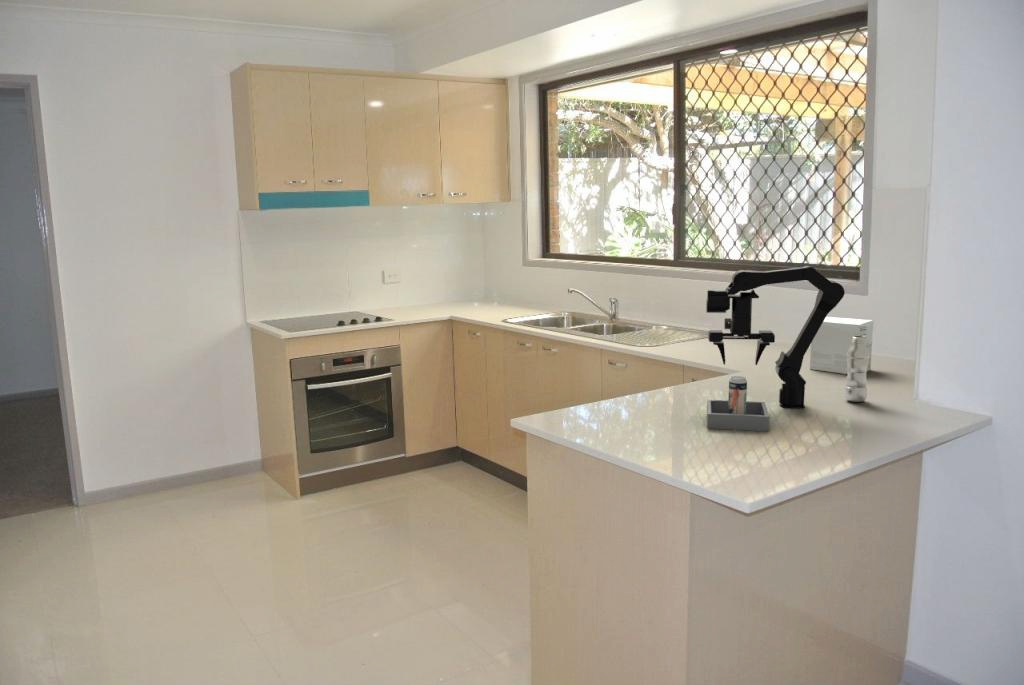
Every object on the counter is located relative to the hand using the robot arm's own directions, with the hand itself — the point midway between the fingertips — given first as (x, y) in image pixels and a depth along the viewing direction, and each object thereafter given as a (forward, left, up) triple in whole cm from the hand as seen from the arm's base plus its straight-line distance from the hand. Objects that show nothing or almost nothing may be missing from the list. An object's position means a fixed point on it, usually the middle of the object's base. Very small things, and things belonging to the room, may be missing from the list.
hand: (740, 364), depth 242 cm
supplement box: (-37, -56, -12) cm, 68 cm away
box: (+2, +20, -12) cm, 24 cm away
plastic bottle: (-34, -9, -12) cm, 38 cm away
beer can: (+2, +20, -12) cm, 24 cm away
